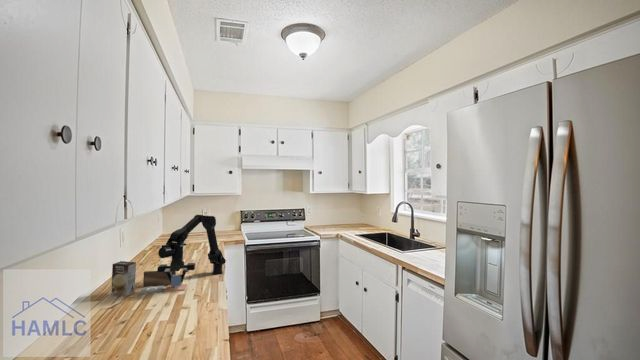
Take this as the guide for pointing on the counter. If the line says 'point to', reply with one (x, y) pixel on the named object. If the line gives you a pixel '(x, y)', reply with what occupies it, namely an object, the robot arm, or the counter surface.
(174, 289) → the terracotta pad
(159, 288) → the grey pad
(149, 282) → the walnut screen
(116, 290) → the coffee box
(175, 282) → the letter cube
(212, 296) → the counter surface
